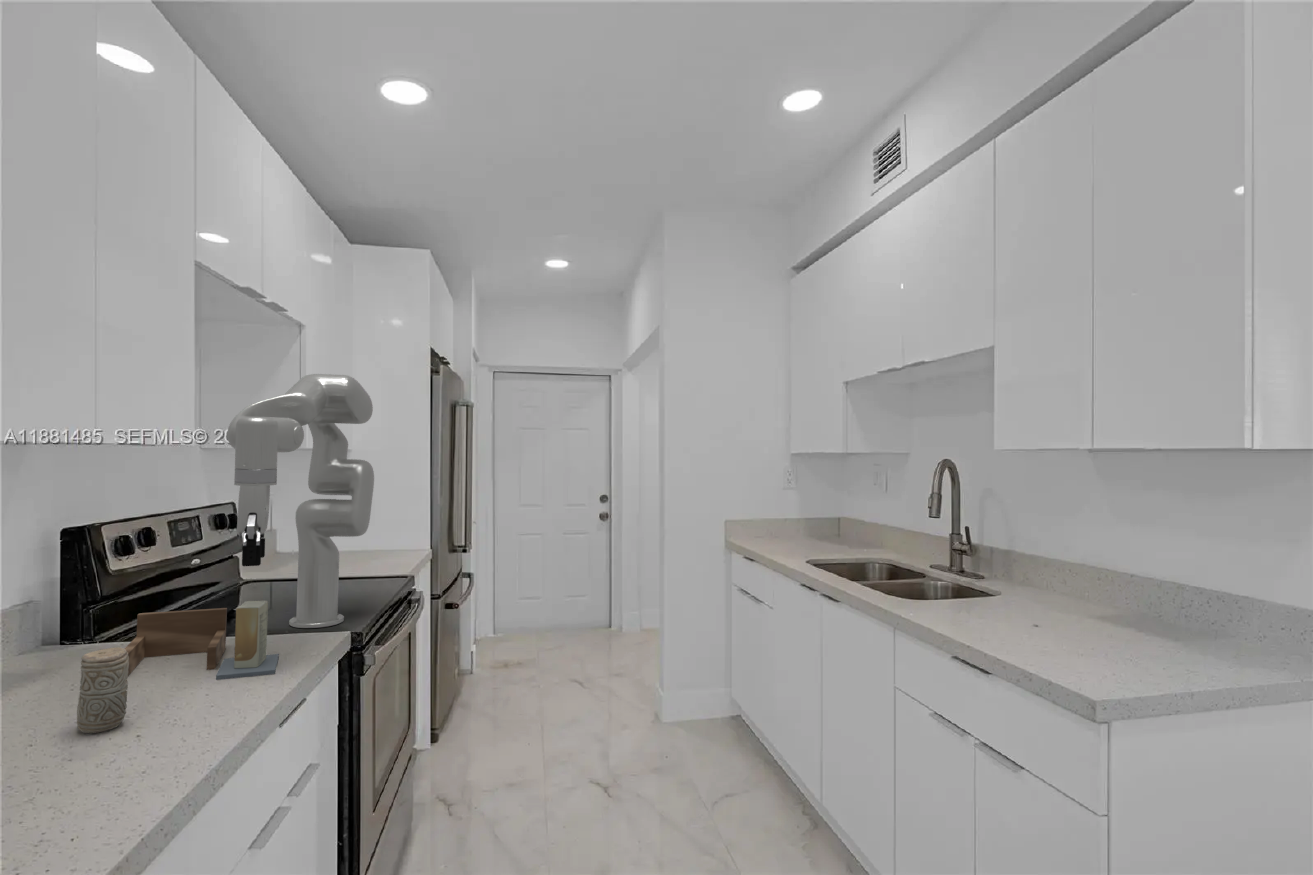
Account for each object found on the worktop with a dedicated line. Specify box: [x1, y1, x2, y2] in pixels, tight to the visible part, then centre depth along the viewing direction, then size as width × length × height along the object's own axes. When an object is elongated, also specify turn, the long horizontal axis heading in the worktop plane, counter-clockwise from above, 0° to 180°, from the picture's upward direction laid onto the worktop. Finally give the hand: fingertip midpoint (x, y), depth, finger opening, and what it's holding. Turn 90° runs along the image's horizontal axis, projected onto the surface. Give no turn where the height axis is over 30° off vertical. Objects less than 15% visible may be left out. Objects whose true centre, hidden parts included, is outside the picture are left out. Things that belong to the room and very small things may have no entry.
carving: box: [76, 646, 129, 734], centre depth 112 cm, size 6×8×12 cm
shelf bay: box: [124, 607, 228, 677], centre depth 145 cm, size 16×16×9 cm
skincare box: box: [233, 600, 269, 668], centre depth 143 cm, size 6×4×12 cm
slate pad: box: [215, 653, 280, 681], centre depth 143 cm, size 12×10×1 cm
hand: (253, 561), depth 143 cm, fingers open, 9 cm apart
